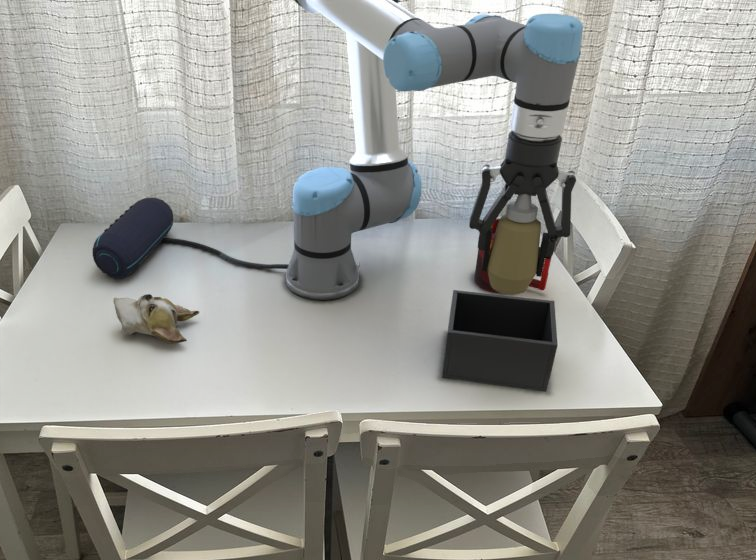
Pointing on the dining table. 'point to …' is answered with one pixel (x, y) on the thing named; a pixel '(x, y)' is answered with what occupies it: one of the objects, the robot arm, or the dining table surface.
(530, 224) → the squeeze bottle
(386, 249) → the dining table surface
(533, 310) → the bin
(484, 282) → the mug
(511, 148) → the robot arm
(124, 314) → the ceramic sculpture
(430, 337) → the dining table surface
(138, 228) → the portable speaker
